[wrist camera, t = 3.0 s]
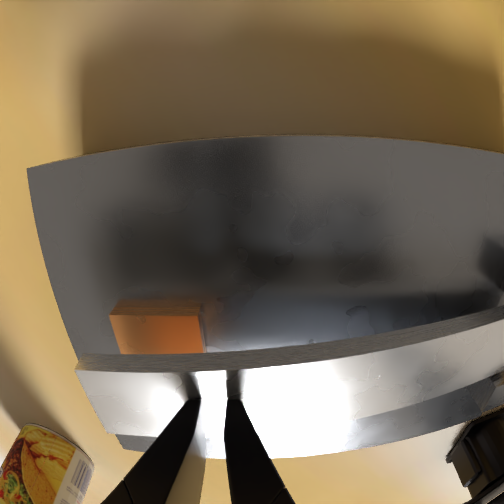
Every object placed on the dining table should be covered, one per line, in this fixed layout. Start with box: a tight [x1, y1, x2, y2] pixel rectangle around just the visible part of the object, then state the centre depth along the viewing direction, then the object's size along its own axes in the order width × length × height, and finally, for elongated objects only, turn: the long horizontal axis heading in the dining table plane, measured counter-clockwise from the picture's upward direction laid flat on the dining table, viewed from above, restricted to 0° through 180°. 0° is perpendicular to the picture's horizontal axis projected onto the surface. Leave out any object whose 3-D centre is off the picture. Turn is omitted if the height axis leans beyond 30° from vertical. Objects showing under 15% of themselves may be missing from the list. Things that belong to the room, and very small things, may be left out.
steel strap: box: [75, 305, 504, 437], centre depth 9 cm, size 16×3×1 cm, turn 92°
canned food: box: [0, 424, 94, 504], centre depth 15 cm, size 8×8×12 cm
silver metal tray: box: [27, 135, 504, 459], centre depth 11 cm, size 20×14×6 cm
